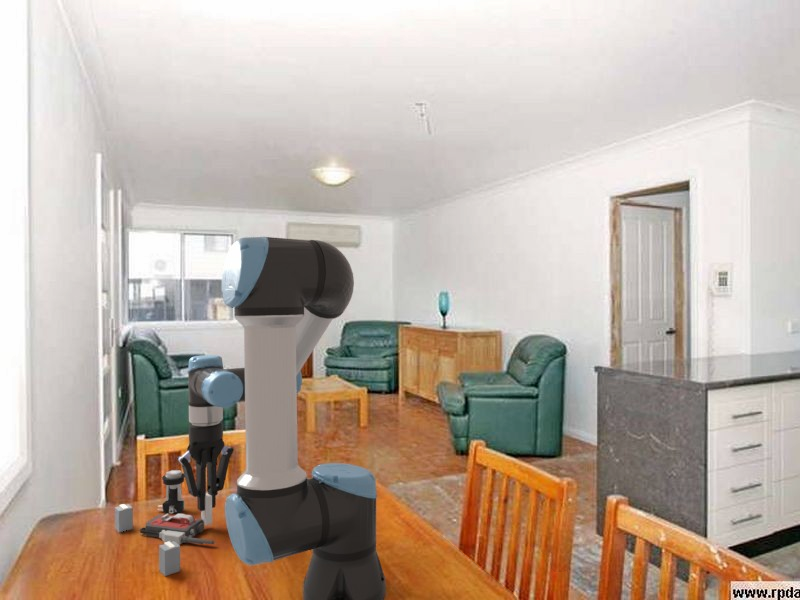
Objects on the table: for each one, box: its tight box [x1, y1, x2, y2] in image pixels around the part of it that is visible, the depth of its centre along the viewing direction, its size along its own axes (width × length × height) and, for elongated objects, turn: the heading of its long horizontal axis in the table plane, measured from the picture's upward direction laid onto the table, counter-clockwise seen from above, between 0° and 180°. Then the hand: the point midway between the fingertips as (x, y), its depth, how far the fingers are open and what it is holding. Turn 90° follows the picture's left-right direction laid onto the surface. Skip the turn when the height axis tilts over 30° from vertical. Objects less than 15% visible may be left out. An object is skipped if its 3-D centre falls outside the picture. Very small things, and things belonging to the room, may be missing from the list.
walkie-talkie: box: [139, 513, 215, 545], centre depth 127 cm, size 9×4×20 cm
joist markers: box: [114, 503, 181, 577], centre depth 121 cm, size 30×3×5 cm, turn 44°
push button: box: [157, 469, 185, 515], centre depth 141 cm, size 7×5×10 cm
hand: (206, 522), depth 130 cm, fingers closed
